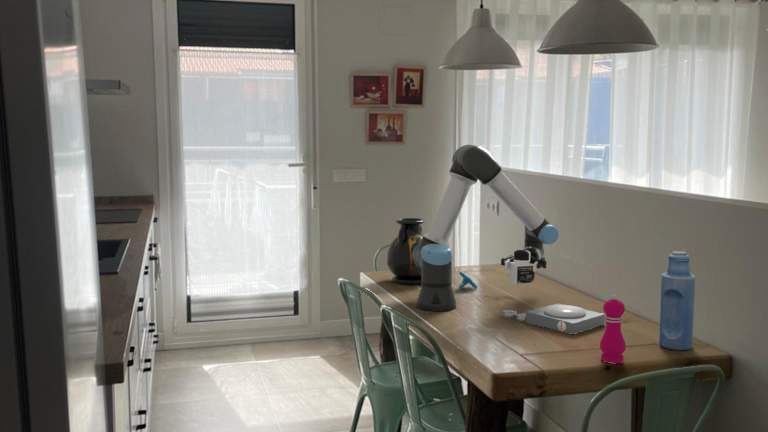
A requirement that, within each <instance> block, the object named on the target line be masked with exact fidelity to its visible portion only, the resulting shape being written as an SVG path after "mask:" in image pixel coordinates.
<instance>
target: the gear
mask: <svg viewBox="0 0 768 432" xmlns="http://www.w3.org/2000/svg"><path fill="white" fill-rule="evenodd" d="M458 274H459V275H460V277H462V279H461V283H460V284H459V286H458V287H459V289H460V290H463V289H464V287H465V286H466V285H468V284H469V285H471V287H472V288H474V289H478V285H477V284H476V283H475V282H473V280H472V279H471V278H470V277H468V276H467V275H466V274H465V273H463V272H462V271H459V273H458Z"/></svg>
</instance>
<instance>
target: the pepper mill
mask: <svg viewBox="0 0 768 432" xmlns="http://www.w3.org/2000/svg"><path fill="white" fill-rule="evenodd" d="M625 309H626V307H625V304H624V303H623V302H622V301H621V300H619V299H618V295H617V294H612V295H611V296H610V299H608V300H606V301H605V302H604V304H603V307H602V310H603V312H604V314H605V331H604V333H603V335H602V337H601V338H600V342H599V349H600V350H601V351H602V353H601V354H600V360H601V359H602V360H604V361H607V362H613V363H621V362H623V363H624V354H623V353H625V351H626V347H627V346H626V342H625V338H624V335H623V333H622V323H623V319H624V318H623V314H624V313H625ZM602 360H601V361H602ZM621 364H622V363H621Z"/></svg>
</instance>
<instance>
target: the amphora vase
mask: <svg viewBox="0 0 768 432" xmlns="http://www.w3.org/2000/svg"><path fill="white" fill-rule="evenodd" d="M425 222H426V220H424V219H422V218H417V217H416V218H415V217H414V218H413V217H408V218H407V217H405V218H404V217H402V218H398V219H396V220H395V223H396V224H398V225H399V226H400V228H399V229H398V234H397V235H396V237H395V238H394V239H393V240H392V241H391V243H390V244H389V246H388V248H387V253H386V256H385V258H386V261H385V262H386V265H387V268H388V269H389V271H390V272H391V273H392V274H393V276H392V277H391V280H392V281H393V282H394V283H396V284H398V285H406V286H414V285H415V286H416V285H421V270H420V269H419V268H418V267H417V266H416V265H415V263H414V259H413V252H414V249H415V248H416V246H417V245H418V244H419V243H420V242H421V239H422V237H423V235H424V234H423V233H422V232H423V230H422V225H423V224H424V223H425Z"/></svg>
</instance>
